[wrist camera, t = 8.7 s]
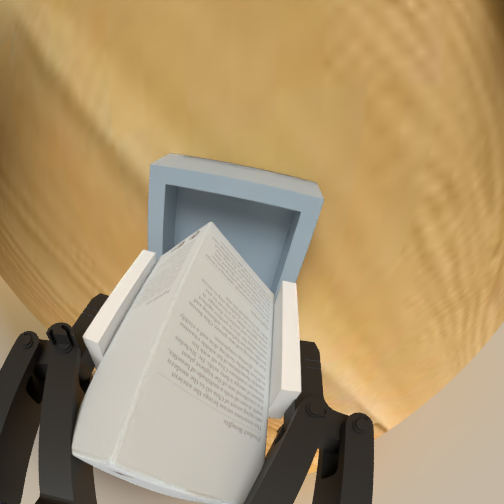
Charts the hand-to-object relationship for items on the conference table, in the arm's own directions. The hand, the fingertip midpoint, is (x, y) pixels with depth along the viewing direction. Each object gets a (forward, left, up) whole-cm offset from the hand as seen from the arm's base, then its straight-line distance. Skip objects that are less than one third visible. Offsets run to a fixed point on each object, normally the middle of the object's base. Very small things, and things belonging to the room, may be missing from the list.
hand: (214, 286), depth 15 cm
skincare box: (0, 0, -1) cm, 1 cm away
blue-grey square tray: (0, 0, -5) cm, 5 cm away
